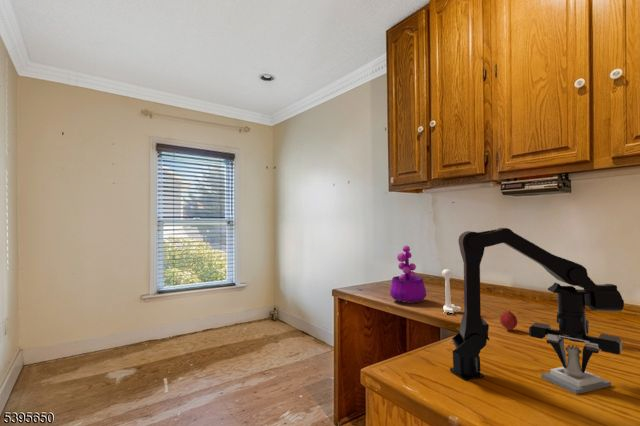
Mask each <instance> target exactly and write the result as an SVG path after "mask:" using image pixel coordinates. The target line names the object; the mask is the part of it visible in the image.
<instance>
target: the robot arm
mask: <svg viewBox="0 0 640 426" xmlns="http://www.w3.org/2000/svg"><path fill="white" fill-rule="evenodd" d="M457 241H458V246H459V252H460V255H461V258H462V262H463V308H464V309H463V310H464V311H463V315H462V318H461V321H460V326H459V331H458V332H457V333H456V334H454V336H453V337H452V338H451V340H452V342H453V343H452V344H453V345H454V347H455V349H453V350H452V367H450V368H449V371H450V372H452V373H453V374H455V375H456V376H458V377H459V378H460V379H462V380H464V381H468V380H473V379H479V378H484V376H485V374H484V373H482V372H481V357H480V353H481V350H482V349H484V348H485V347H486V346H487V344H488V343H487V342H488V341H490V338H489V337H490V336H489V329H490V325H489V324H488V323H487V321H486V320H485V319H484V318H482V315H481V311H482V309H481V264H482V263H481V262H482V261H483V260H482V259H483V257H484V253H485V248H488V247H492V246H496V245H500V244H504V245H506V246H508V248H511V249H513V250H515V251H516V252H518V253H519V254H521V255H523V256H525V257H527V258H528V259H530V260H532V261H533V262H535V263H537V264H539V265H540V266H541V267H543V269H544V270H545V271H546V272H547V273H549V274H550V275H551V276H552V277H553V278H555V279H556V280H558V281H560V282H562V283H564V284H567V285H561V284H560V283H558V282H554V283H553V284H552V285H551V286H549V287H548V288H547V291H549V292H551V293H553V294H556V295H557V297H556V298H557V312H556V323H557V324H558V329H554V328H551V324H547V323H544V322H543V323H541V322H536V321H535V322H534V323H533V324H532V325H531V326H529V328H528V335H529V337H530V338H531V337H532V338H536V339H540V340H541V339H542V340H543V339H544V338H546V339H547V340H546V343H547V344H549V345H551V347H552V349H553V350H554V352H555V353H556V355H557V356H558V359H559V361H560V363H561V365H562V367H564V368H566V366H567V363H568V360H567V354H566V348H565V340H570V341H572V340H574V341H573V342H579V343H584V347H582V357H581V369H582V372H583V373H584V372H585V371H586V370H587V368H588V367H587V366H588V364H589V362H590V359H591V357H592V356H593V354H599V353H600V351H602V352H604V353H609V354H613V355H621V354H622V350H623V340H622V339H621V338H620V337H619V336H616V335H610V334H604V333H600V334H599V337H597V336H592V335H588V334H589V333H590V330H589V327H590V326H589V325H590V324H589V319H587V317H586V307H587V308H589V310H591V312H592V311H594V312H595V311H596V312H622V310H623V309H624V307H625V301H624V299H623V296H622V294H621V293H620V291H619V290H618V285H616V284H612V283H604V284H596V283H595V282H594V281H593V280H592V278H590V277H589V274H588V270H587V268H586V266H583V265H582V264H580V263H578V262H575V261H572V260H569V259H566V258H563V257H561V256H557V255H555V254H552V253H550V252H549V251H548V250H546V249H544V248H542V247H541V246H538V245H537V244H535V243H533V242H532V241H530V240H528V239H527V238H524V237H523V236H521V235H520V234H517V233H516V232H514V231H513V230H512V229H510V228H508V227H498V228H496V229H491V230H486V231H485V230H484V231H479V232H478V231H470V230H468V231H464V232H462V233H461V234H460V235H459V236H458V240H457ZM576 287H578V288H579V289H578V288H577V289H576ZM580 288H581V289H580ZM577 337H578V338H577Z"/></svg>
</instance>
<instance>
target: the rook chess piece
mask: <svg viewBox="0 0 640 426" xmlns="http://www.w3.org/2000/svg"><path fill="white" fill-rule="evenodd" d="M565 352H567V354H566V357H567V366H566V368H565V369H564V371H565V373H564V374H566V375H568V376H571V377H573V378H575V379H578V380H579V379H583V378H585V377H584V375H585V373H583V372H582V365H581V360H580V359H581V356H580V354H582V351H581V349H580V347H578V346H577V345H576V346H574V345H572V344H568V345H566V348H565Z"/></svg>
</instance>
